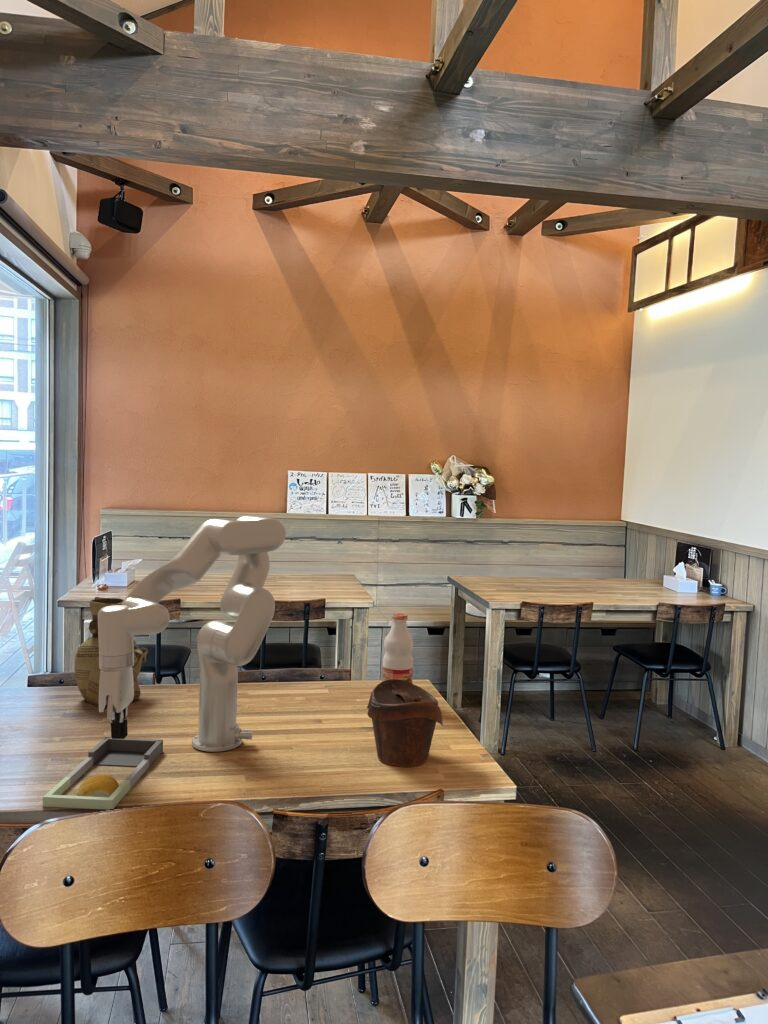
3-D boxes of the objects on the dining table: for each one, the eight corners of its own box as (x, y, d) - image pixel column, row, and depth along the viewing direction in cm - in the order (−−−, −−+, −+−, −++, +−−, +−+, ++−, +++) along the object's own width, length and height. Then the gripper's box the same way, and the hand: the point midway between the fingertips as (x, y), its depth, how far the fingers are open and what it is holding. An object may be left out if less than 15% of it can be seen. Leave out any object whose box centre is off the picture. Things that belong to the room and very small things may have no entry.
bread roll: (119, 785, 162) (119, 767, 162) (117, 803, 154) (117, 784, 154) (78, 788, 160) (79, 770, 160) (74, 806, 151) (74, 788, 151)
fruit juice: (391, 698, 233) (394, 610, 232) (416, 703, 229) (420, 614, 227) (375, 705, 225) (378, 615, 224) (401, 711, 221) (405, 619, 219)
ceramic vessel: (154, 704, 219) (156, 604, 217) (77, 712, 208) (79, 608, 207) (141, 687, 235) (143, 594, 234) (70, 694, 225) (72, 597, 224)
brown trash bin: (423, 779, 171) (426, 702, 171) (350, 760, 181) (353, 688, 180) (454, 756, 187) (457, 686, 186) (385, 740, 196) (388, 674, 196)
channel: (162, 751, 182) (163, 739, 182) (112, 809, 150) (112, 795, 150) (105, 748, 182) (105, 737, 182) (42, 806, 151) (42, 792, 150)
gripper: (113, 650, 176) (115, 725, 177) (86, 669, 161) (89, 750, 162) (144, 650, 176) (146, 725, 177) (120, 669, 161) (123, 750, 162)
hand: (119, 737), depth 170 cm, fingers closed
